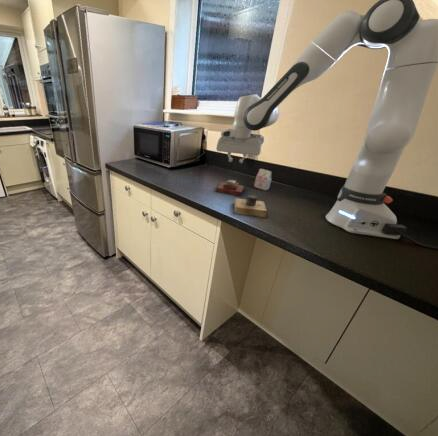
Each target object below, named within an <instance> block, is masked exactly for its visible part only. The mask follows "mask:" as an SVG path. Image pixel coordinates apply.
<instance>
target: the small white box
mask: <svg viewBox="0 0 438 436" xmlns="http://www.w3.org/2000/svg"><path fill="white" fill-rule="evenodd" d="M272 174H273V171H271V170H268V169H264V168H259V169H258V172H257V174H256V176H255V180H254V183H253V188H257V189H260V190H262V191H267V190H269V189H270V186H271V183H272V179H273V178H272V177H273V175H272Z"/></svg>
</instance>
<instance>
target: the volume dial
mask: <svg viewBox="0 0 438 436" xmlns="http://www.w3.org/2000/svg"><path fill="white" fill-rule="evenodd" d="M256 201H258V196H257V195H255V194H247V196H246V204H247V205H249V206H255V205H256Z"/></svg>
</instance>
